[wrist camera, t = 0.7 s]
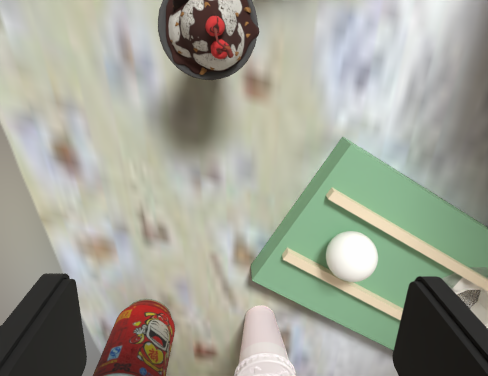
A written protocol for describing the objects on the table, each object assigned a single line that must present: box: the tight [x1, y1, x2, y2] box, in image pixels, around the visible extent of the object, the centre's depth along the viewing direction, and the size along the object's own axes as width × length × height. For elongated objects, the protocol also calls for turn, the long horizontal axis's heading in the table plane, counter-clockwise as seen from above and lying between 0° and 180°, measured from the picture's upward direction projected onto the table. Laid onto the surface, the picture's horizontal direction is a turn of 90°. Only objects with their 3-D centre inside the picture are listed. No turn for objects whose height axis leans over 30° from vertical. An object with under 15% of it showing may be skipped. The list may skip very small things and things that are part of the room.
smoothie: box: [234, 305, 296, 376], centre depth 40 cm, size 6×6×14 cm
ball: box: [326, 231, 378, 282], centre depth 37 cm, size 5×5×5 cm
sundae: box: [158, 0, 259, 80], centre depth 27 cm, size 7×7×15 cm
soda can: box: [93, 299, 175, 376], centre depth 41 cm, size 7×7×12 cm
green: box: [251, 137, 488, 351], centre depth 42 cm, size 18×32×6 cm, turn 59°
